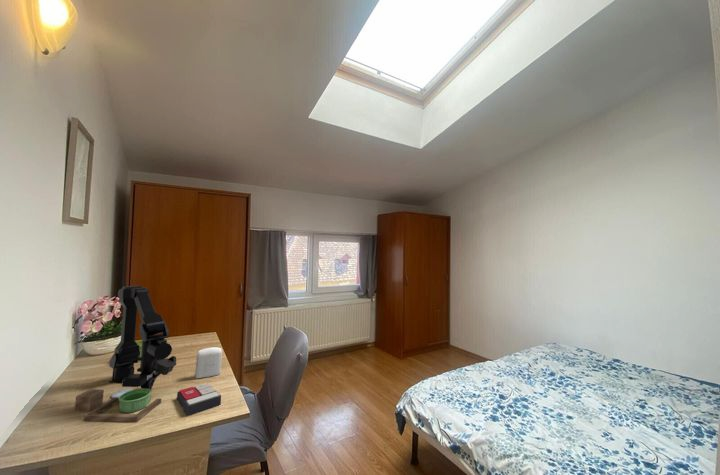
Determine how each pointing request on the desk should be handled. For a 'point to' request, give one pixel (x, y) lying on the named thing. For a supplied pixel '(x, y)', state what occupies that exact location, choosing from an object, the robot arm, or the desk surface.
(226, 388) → the desk surface
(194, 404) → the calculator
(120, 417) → the bay
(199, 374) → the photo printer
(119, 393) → the pale grey dome
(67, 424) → the desk surface
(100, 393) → the walnut block
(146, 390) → the ramekin
